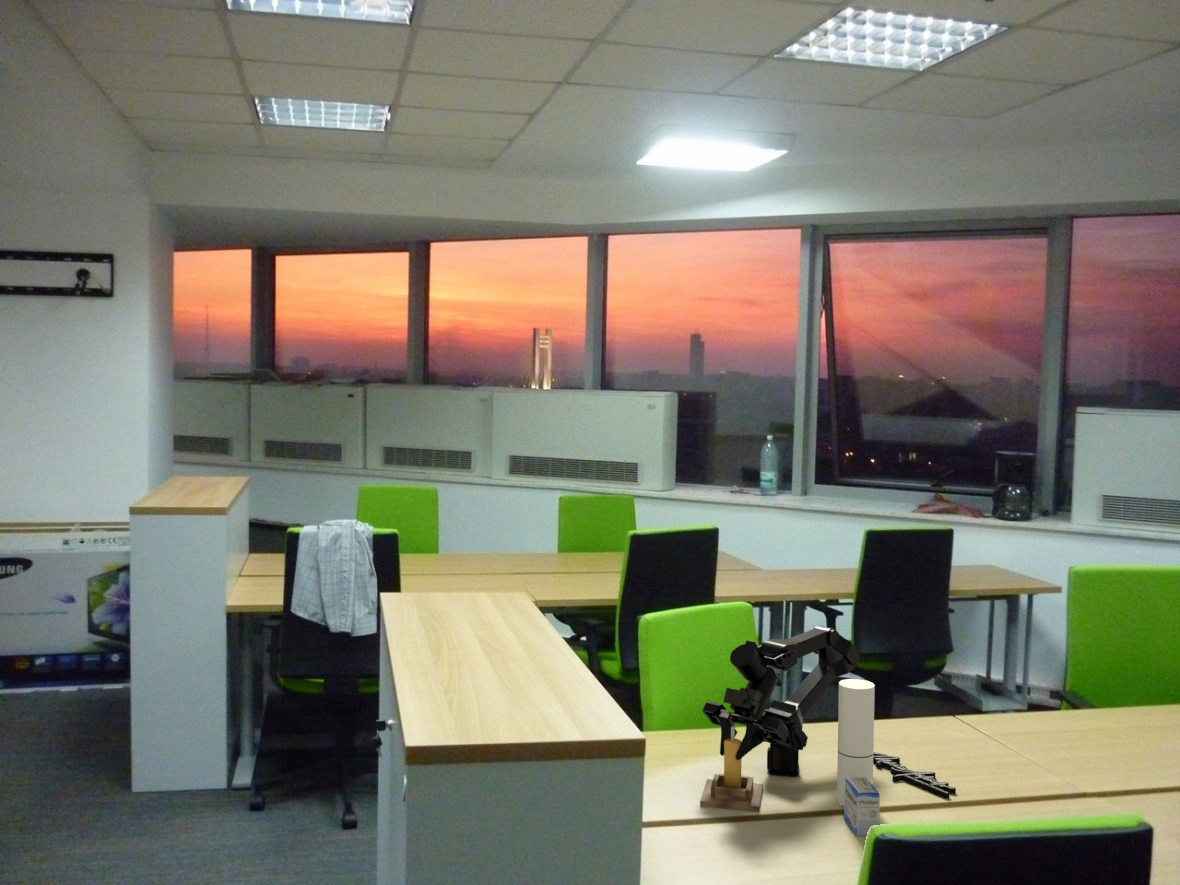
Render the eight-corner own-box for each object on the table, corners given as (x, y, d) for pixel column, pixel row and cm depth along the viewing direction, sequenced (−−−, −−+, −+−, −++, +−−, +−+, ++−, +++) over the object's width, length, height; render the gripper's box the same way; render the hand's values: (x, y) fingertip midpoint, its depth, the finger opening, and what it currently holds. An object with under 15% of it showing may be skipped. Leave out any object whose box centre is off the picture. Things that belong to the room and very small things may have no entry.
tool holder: (762, 788, 222) (763, 773, 222) (759, 811, 211) (759, 795, 210) (706, 783, 225) (707, 769, 225) (700, 805, 213) (700, 790, 213)
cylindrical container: (873, 798, 217) (875, 680, 216) (871, 811, 211) (873, 690, 209) (838, 793, 220) (840, 677, 218) (835, 806, 213) (837, 687, 211)
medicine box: (843, 819, 207) (844, 777, 206) (865, 818, 207) (866, 776, 207) (856, 837, 199) (857, 792, 199) (879, 836, 200) (880, 792, 199)
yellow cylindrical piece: (741, 783, 219) (742, 725, 218) (740, 789, 216) (740, 730, 215) (724, 781, 220) (725, 723, 219) (723, 788, 216) (723, 729, 216)
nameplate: (842, 755, 239) (873, 747, 244) (842, 761, 239) (872, 753, 244) (939, 796, 216) (970, 786, 221) (939, 803, 216) (970, 793, 221)
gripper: (706, 664, 225) (676, 727, 218) (782, 680, 213) (752, 748, 206) (727, 691, 232) (698, 753, 224) (801, 709, 220) (773, 775, 212)
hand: (729, 756), depth 216 cm, fingers closed on yellow cylindrical piece, 3 cm apart
